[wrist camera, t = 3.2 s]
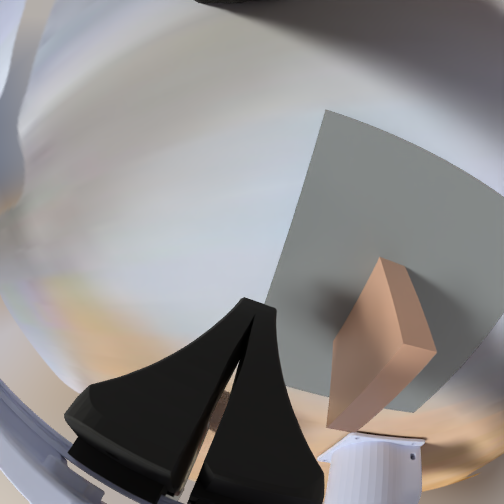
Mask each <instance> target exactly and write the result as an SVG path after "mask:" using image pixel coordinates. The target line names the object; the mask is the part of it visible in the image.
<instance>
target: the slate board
mask: <svg viewBox="0 0 504 504" xmlns="http://www.w3.org/2000/svg"><path fill="white" fill-rule="evenodd" d="M379 257H382V258H384V259H387V260H390V261H392V262H395V263H398V264H400V265H403V266H405V268H406V270H407V272H408V275H409V277H410V279H411V282H412V284H413V286H414V289H415V291H416V294H417V296H418V299H419V301H420V304H421V307H422V309H423V312H424V315H425V318H426V320H427V323H428V326H429V329H430V332H431V335H432V338H433V341H434V344H435V347H436V351H437V353H436V354H435V356H434V357H433V358H432V359H431V360H430V361H429V362H428V364H427V365H426V366H425V367H424V368H423V369H422V370H421V371H420V373H419V374H418V375H417V376H416V377H415V378H414V379H413V380H412V381H411V382H410V383H409V384H408V385H407V386H406V387H405V388H404V389H403V390H402V391H401V392H400V393H399V394H398V395H397V396H396V397H395V398H394V399H393V400H392V401H391V402H390V403H389V404H388V405H387V406H386V407H384V408H385V409H391V410H397V411H404V412H412V413H414V412H415V411H416V410H417V409H418V408H420V407H421V406H422V405H423V404H424V403H425V402H426V401H427V400H428V399H430V398H431V397H432V396H433V395H434V394H435V393H436V392H437V391H438V390H439V389H440V388H441V387H442V386H443V385H444V384H445V383H446V382H447V381H448V380H449V379H450V378H451V377H452V376H453V375H454V374H455V373H456V372H457V371H458V369H459V368H460V367H461V366H462V365H463V364H464V363H465V362H466V361H467V359H468V358H469V357H470V356H471V355H472V354H473V352H474V351H475V350H476V349H477V348H478V346H479V345H480V344H481V343H482V341H483V340H484V339H485V338H486V336H487V335H488V334H489V332H490V331H491V330H492V328H493V327H494V326H495V324H496V323H497V322H498V320H499V319H500V317H501V316H502V314H503V313H504V197H503V196H502V195H500V194H499V193H498V192H496V191H495V190H493V189H492V188H490V187H489V186H487V185H486V184H484V183H483V182H481V181H480V180H478V179H476V178H475V177H473V176H472V175H470V174H468V173H467V172H465V171H463V170H462V169H460V168H458V167H456V166H455V165H453V164H451V163H449V162H448V161H446V160H444V159H442V158H440V157H438V156H437V155H435V154H433V153H431V152H429V151H427V150H425V149H423V148H421V147H419V146H417V145H415V144H413V143H410V142H408V141H406V140H404V139H402V138H399V137H397V136H395V135H393V134H390V133H388V132H386V131H383V130H381V129H378V128H376V127H373V126H371V125H368V124H366V123H363V122H361V121H358V120H355V119H352V118H350V117H347V116H344V115H341V114H338V113H335V112H332V111H329V110H325V114H324V117H323V121H322V124H321V128H320V131H319V134H318V138H317V141H316V145H315V148H314V151H313V155H312V158H311V161H310V165H309V168H308V171H307V175H306V178H305V181H304V184H303V188H302V191H301V194H300V197H299V201H298V204H297V207H296V210H295V213H294V216H293V220H292V223H291V226H290V229H289V232H288V235H287V238H286V241H285V244H284V247H283V250H282V253H281V256H280V259H279V262H278V265H277V268H276V271H275V274H274V277H273V280H272V283H271V286H270V289H269V292H268V295H267V298H266V301H265V305H268V306H271V307H274V308H276V310H277V317H276V330H277V343H278V351H279V358H280V364H281V369H282V374H283V378H284V382H285V386H288V387H292V388H295V389H299V390H302V391H306V392H310V393H314V394H318V395H322V396H326V397H329V396H330V384H331V371H332V354H333V341H334V339H335V338H336V336H337V334H338V333H339V331H340V329H341V328H342V326H343V324H344V323H345V321H346V319H347V317H348V316H349V314H350V312H351V310H352V309H353V307H354V305H355V303H356V302H357V300H358V298H359V296H360V294H361V292H362V290H363V289H364V287H365V285H366V283H367V281H368V279H369V277H370V275H371V273H372V271H373V269H374V267H375V265H376V263H377V261H378V259H379Z"/></svg>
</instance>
